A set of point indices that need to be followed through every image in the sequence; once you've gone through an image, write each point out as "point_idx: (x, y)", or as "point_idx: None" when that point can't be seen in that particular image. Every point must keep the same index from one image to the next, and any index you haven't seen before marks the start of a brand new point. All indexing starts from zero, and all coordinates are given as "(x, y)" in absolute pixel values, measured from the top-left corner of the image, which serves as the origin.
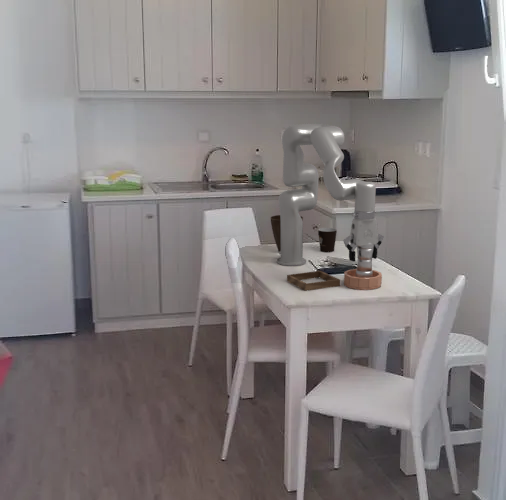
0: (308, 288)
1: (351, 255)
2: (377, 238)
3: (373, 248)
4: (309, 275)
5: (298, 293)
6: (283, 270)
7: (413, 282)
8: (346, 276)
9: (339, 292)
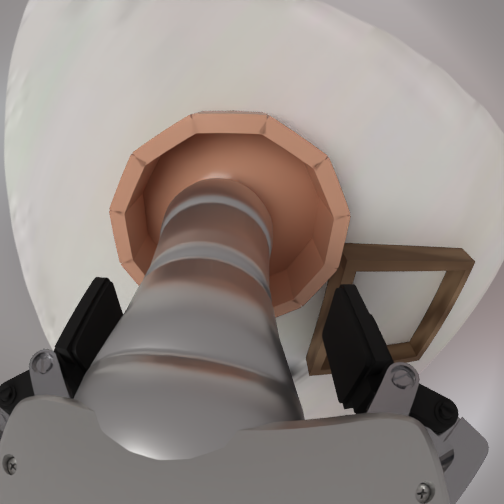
0: (458, 252)
1: (379, 335)
2: (3, 457)
3: (95, 357)
4: None
5: (486, 236)
6: (338, 406)
7: (13, 157)
8: (340, 246)
9: (406, 163)
